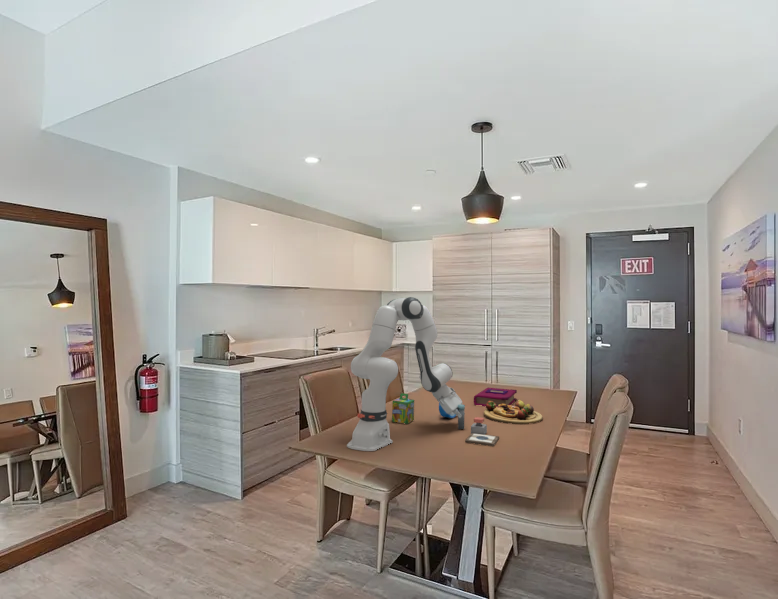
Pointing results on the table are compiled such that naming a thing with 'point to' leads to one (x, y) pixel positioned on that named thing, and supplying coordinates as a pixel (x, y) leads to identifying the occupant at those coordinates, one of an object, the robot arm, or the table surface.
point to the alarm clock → (445, 412)
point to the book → (495, 396)
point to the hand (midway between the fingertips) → (462, 415)
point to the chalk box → (403, 409)
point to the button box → (479, 429)
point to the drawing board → (482, 439)
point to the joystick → (461, 420)
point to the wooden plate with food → (512, 413)
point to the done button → (478, 421)
